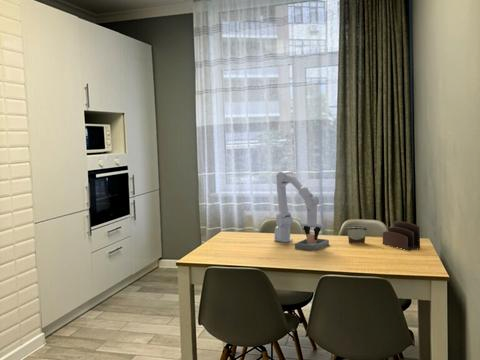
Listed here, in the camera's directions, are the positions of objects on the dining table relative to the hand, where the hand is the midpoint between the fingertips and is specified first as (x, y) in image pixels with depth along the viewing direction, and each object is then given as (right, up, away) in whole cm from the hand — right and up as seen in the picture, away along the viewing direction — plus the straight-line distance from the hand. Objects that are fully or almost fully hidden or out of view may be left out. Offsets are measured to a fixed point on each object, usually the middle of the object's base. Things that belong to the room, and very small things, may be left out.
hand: (312, 239), depth 263 cm
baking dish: (0, -4, 0) cm, 4 cm away
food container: (+29, -3, +10) cm, 30 cm away
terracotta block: (0, -2, 0) cm, 2 cm away
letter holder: (+51, -4, -3) cm, 52 cm away
